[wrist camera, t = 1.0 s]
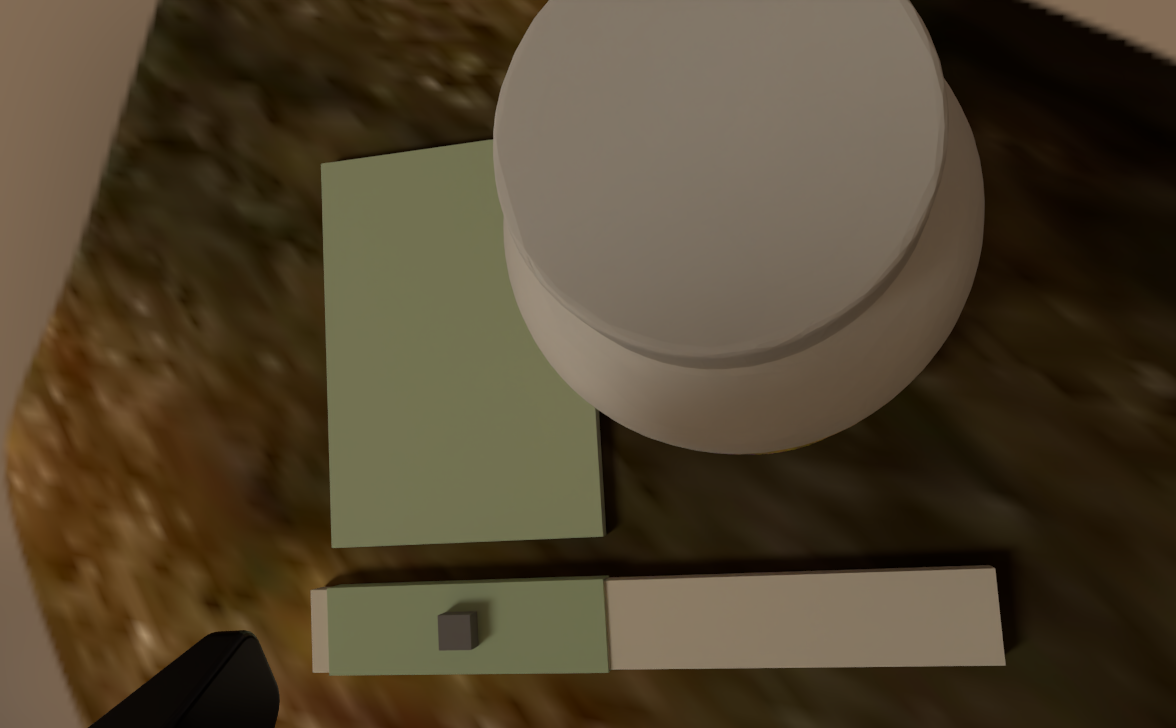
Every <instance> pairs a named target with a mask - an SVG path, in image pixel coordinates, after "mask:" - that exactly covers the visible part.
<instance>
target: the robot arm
mask: <svg viewBox="0 0 1176 728" xmlns="http://www.w3.org/2000/svg"><path fill="white" fill-rule="evenodd" d="M279 703H280V699H279V690H278V686H277V683H276V681H275V678H274V676H273V674H272V671H271V669H270V667H269V664H268V662H267V660H266V657H265V655H264V653H263V650H262V648H261V645H260V643H259V641H258V639H257V637H256V636H255V635H254V634H253V633H251V632H249V631H245V630H241V631H221V632H214V633H211V634H209V635H207V636H205V637H204V638H203V639H201V640H200V641H199V642H197V643H196V644H195V645H194V646H192V647H191V648H190V649H188V650H187V651H186V652H185V653H183V654H182V655H181V656H179V657H178V658H177V659H176V660H174V661H173V662H172V663H170V664H169V665H168V666H167V667H165V668H164V669H163V670H161V671H160V672H159V673H158V674H156V675H155V676H154V677H152V678H151V679H150V680H149V681H147V682H146V683H145V684H144V685H142V686H141V687H140V688H138V689H137V690H136V691H135V692H133V693H132V694H131V695H129V696H128V697H127V698H126V699H124V700H123V701H122V702H120V703H119V704H118V705H117V706H115V707H114V708H113V709H111V710H110V711H109V712H108V713H106V714H105V715H104V716H102V717H101V718H100V719H99V720H97V721H96V722H95V723H93V724H92V725H91V726H90V727H88V728H274V727H275V724H276V720H277V716H278V711H279Z"/></svg>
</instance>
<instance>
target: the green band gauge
mask: <svg viewBox="0 0 1176 728" xmlns="http://www.w3.org/2000/svg"><path fill="white" fill-rule="evenodd" d="M321 180H322V216H323V252H324V287H325V323H326V359H327V394H328V430H329V466H330V501H331V537H332V548H345V547H369V546H392V545H415V544H439V543H462V542H486V541H509V540H532V539H556V538H579V537H603V536H605V535H606V519H605V503H604V486H603V470H602V453H601V437H600V420H599V410H598V409H596V408H595V407H594V406H592V405H591V404H589V403H588V402H587V401H586V400H584V399H583V398H582V397H581V396H580V395H579V394H577V393H576V392H575V391H574V390H573V389H572V388H571V387H570V386H569V385H568V384H567V383H566V382H565V381H564V380H563V379H562V378H561V377H560V375H559V374H558V373H557V372H556V370H555V369H554V368H553V367H552V366H551V365H550V363H549V362H548V360H547V359H546V358H545V356H544V355H543V353H542V352H541V350H540V349H539V347H538V345H537V344H536V342H535V341H534V339H533V337H532V335H531V333H530V331H529V329H528V327H527V325H526V323H525V321H524V319H523V317H522V315H521V312H520V310H519V307H518V305H517V302H516V299H515V296H514V293H513V289H512V286H511V283H510V279H509V274H508V268H507V263H506V257H505V249H504V231H503V219H504V215H503V212H502V208H501V205H500V202H499V198H498V193H497V187H496V182H495V172H494V161H493V139H492V140H485V141H478V142H471V143H464V144H457V145H450V146H443V147H436V148H429V149H422V150H415V151H408V152H401V153H394V154H387V155H380V156H373V157H366V158H359V159H352V160H345V161H338V162H331V163H324V164H321ZM311 620H312V660H313V673H325V672H329V675H430V674H534V673H609V671H610V670H613V669H709V668H805V667H901V666H998V665H1005V655H1004V646H1003V637H1002V627H1001V618H1000V608H999V599H998V590H997V580H996V571H995V568H994V567H992V566H990V565H977V566H946V567H916V568H885V569H855V570H824V571H793V572H763V573H732V574H702V575H671V576H640V577H610V578H609V575H606V576H576V577H545V578H515V579H485V580H455V581H425V582H395V583H365V584H340V585H336V586H333V587H321V588H317V589H313V590H311Z"/></svg>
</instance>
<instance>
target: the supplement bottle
mask: <svg viewBox="0 0 1176 728" xmlns="http://www.w3.org/2000/svg"><path fill="white" fill-rule="evenodd" d="M493 161H494V172H495V182H496V187H497V193H498V198H499V202H500V205H501V208H502V212H503V215H504V219H503V231H504V249H505V257H506V263H507V268H508V274H509V279H510V283H511V286H512V289H513V293H514V296H515V299H516V302H517V305H518V307H519V310H520V312H521V315H522V317H523V319H524V321H525V323H526V325H527V327H528V329H529V331H530V333H531V335H532V337H533V339H534V341H535V342H536V344H537V345H538V347H539V349H540V350H541V352H542V353H543V355H544V356H545V358H546V359H547V360H548V362H549V363H550V365H551V366H552V367H553V368H554V369H555V370H556V372H557V373H558V374H559V375H560V377H561V378H562V379H563V380H564V381H565V382H566V383H567V384H568V385H569V386H570V387H571V388H572V389H573V390H574V391H575V392H576V393H577V394H579V395H580V396H581V397H582V398H583V399H584V400H586V401H587V402H588V403H589V404H591V405H592V406H594V407H595V408H596V409H598V410H599V411H601V412H602V413H604V414H605V415H607V416H608V417H610V418H611V419H613V420H614V421H616V422H618V423H620V424H621V425H623V426H625V427H627V428H629V429H631V430H633V431H635V432H638V433H640V434H642V435H644V436H646V437H649V438H652V439H655V440H658V441H661V442H664V443H667V444H671V445H674V446H679V447H683V448H688V449H692V450H697V451H705V452H711V453H723V454H741V455H747V454H752V455H757V454H771V453H777V452H785V451H789V450H793V449H797V448H801V447H805V446H807V445H810V444H813V443H816V442H818V441H820V440H823V439H825V438H827V437H829V436H832V435H834V434H836V433H838V432H840V431H843V430H845V429H847V428H849V427H851V426H853V425H855V424H856V423H858V422H860V421H861V420H863V419H864V418H866V417H868V416H869V415H871V414H872V413H874V412H875V411H877V410H878V409H880V408H881V407H882V406H884V405H885V404H887V403H888V402H889V401H891V400H892V399H893V398H894V397H895V396H896V395H897V394H899V393H900V392H901V391H902V390H903V389H904V388H905V387H906V386H908V385H909V384H910V383H911V382H912V381H913V380H914V379H915V378H916V377H917V376H918V375H919V374H920V373H921V372H922V371H923V369H924V368H925V367H926V366H927V364H928V363H929V362H930V361H931V359H932V358H933V357H934V356H935V354H936V353H937V352H938V350H939V349H940V348H941V346H942V345H943V343H944V342H945V341H946V339H947V338H948V336H949V335H950V333H951V331H952V330H953V328H954V326H955V324H956V322H957V320H958V318H959V316H960V314H961V312H962V310H963V307H964V305H965V303H966V300H967V298H968V296H969V293H970V291H971V288H972V285H973V281H974V278H975V275H976V271H977V267H978V263H979V259H980V254H981V249H982V243H983V230H984V211H985V199H984V185H983V176H982V170H981V163H980V158H979V154H978V150H977V147H976V143H975V139H974V136H973V133H972V130H971V127H970V125H969V123H968V121H967V119H966V116H965V114H964V112H963V110H962V108H961V106H960V104H959V102H958V100H957V98H956V97H955V95H954V93H953V91H952V89H951V88H950V86H949V85H948V83H947V82H946V80H945V79H944V77H943V72H942V68H941V63H940V60H939V57H938V54H937V52H936V49H935V47H934V44H933V42H932V39H931V36H930V34H929V32H928V30H927V28H926V26H925V24H924V22H923V20H922V19H921V17H920V16H919V14H918V13H917V11H916V10H915V8H914V7H913V5H912V3H911V2H910V0H549V1H548V2H547V3H546V5H545V6H544V7H543V8H542V10H541V11H540V12H539V13H538V15H537V16H536V17H535V18H534V20H533V21H532V23H531V25H530V26H529V28H528V30H527V32H526V33H525V35H524V37H523V39H522V41H521V42H520V44H519V46H518V48H517V50H516V51H515V54H514V56H513V58H512V61H511V64H510V66H509V69H508V71H507V74H506V77H505V79H504V82H503V84H502V87H501V91H500V95H499V99H498V104H497V108H496V114H495V122H494V130H493Z"/></svg>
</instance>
